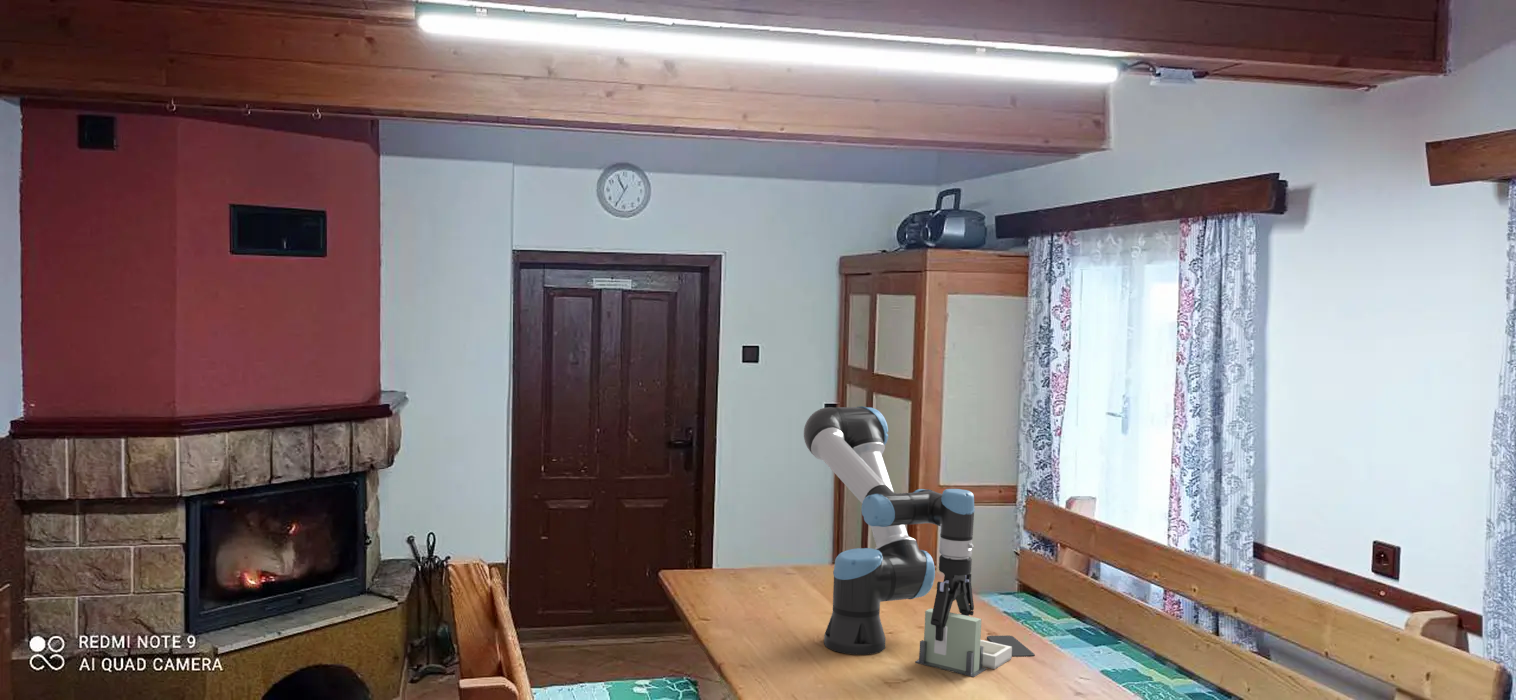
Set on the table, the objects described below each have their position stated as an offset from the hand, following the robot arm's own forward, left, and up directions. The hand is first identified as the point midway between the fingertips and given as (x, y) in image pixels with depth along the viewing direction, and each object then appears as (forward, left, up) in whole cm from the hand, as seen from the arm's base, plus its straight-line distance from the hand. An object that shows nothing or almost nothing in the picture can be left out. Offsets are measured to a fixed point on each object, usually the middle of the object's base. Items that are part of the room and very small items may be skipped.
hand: (951, 647), depth 259 cm
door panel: (0, 0, -4) cm, 4 cm away
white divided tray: (0, +10, -4) cm, 11 cm away
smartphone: (+5, +24, -5) cm, 25 cm away
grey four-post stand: (0, 0, -4) cm, 4 cm away
